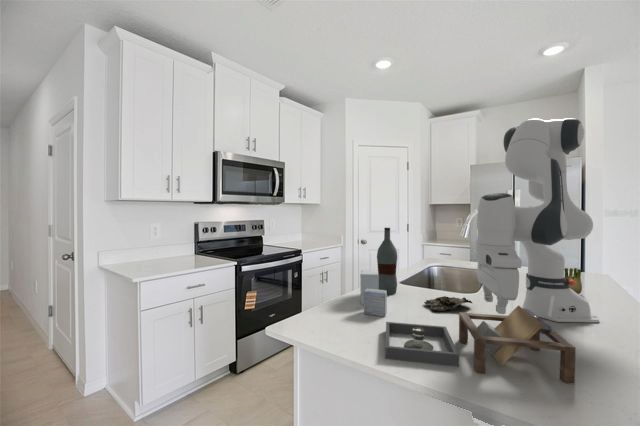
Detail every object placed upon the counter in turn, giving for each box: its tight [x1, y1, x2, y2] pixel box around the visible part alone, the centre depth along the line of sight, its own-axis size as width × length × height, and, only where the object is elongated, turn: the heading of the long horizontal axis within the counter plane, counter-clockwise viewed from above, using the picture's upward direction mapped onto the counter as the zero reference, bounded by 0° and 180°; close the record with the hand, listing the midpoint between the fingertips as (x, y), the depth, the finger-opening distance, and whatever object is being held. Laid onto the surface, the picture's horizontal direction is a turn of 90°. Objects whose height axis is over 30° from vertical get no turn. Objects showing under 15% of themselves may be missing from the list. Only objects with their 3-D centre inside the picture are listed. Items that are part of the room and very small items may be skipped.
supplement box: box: [359, 270, 379, 305], centre depth 127 cm, size 7×7×13 cm
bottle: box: [376, 227, 398, 296], centre depth 141 cm, size 9×9×30 cm
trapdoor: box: [493, 305, 552, 366], centre depth 80 cm, size 15×13×3 cm
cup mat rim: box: [385, 321, 460, 367], centre depth 87 cm, size 18×18×3 cm
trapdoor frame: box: [458, 312, 577, 384], centre depth 80 cm, size 21×18×8 cm
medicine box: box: [363, 289, 388, 317], centre depth 113 cm, size 8×4×9 cm, turn 71°
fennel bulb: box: [564, 267, 583, 295], centre depth 139 cm, size 6×5×12 cm
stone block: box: [476, 320, 504, 356], centre depth 81 cm, size 5×5×5 cm
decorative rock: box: [423, 295, 473, 312], centre depth 122 cm, size 19×6×15 cm
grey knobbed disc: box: [404, 327, 434, 350], centre depth 87 cm, size 12×12×5 cm
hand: (494, 306), depth 81 cm, fingers open, 8 cm apart
